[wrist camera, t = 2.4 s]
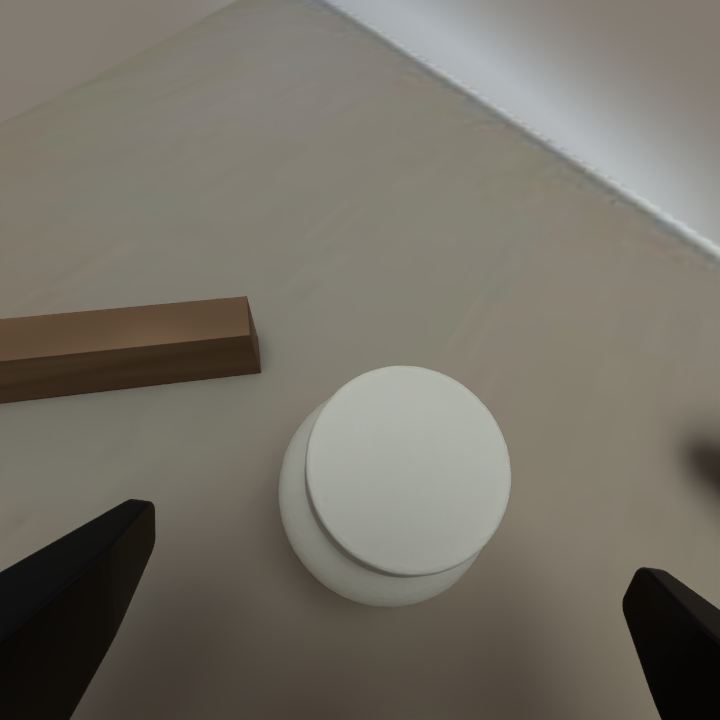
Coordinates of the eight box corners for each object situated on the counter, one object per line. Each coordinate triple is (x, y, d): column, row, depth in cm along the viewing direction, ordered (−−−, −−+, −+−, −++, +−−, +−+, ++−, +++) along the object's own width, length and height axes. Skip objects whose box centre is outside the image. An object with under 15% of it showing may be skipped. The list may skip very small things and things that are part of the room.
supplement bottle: (312, 614, 16) (307, 678, 7) (274, 465, 18) (234, 372, 9) (453, 560, 17) (598, 559, 8) (402, 426, 19) (477, 309, 10)
